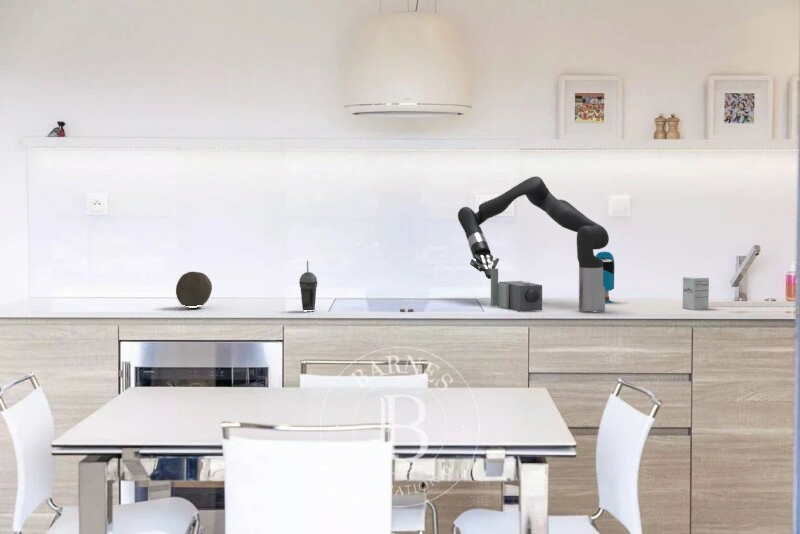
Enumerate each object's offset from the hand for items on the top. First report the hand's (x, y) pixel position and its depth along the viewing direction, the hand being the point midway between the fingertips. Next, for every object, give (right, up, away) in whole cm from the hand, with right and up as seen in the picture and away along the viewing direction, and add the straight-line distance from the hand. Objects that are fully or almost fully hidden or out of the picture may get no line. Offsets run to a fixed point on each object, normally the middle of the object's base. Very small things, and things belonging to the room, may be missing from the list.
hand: (490, 277), depth 421 cm
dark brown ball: (-120, -13, -2) cm, 121 cm away
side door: (+3, -12, -6) cm, 14 cm away
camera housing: (+11, -12, -9) cm, 19 cm away
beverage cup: (-73, -13, -15) cm, 76 cm away
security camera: (+48, -11, +12) cm, 51 cm away
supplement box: (+80, -12, -13) cm, 82 cm away
